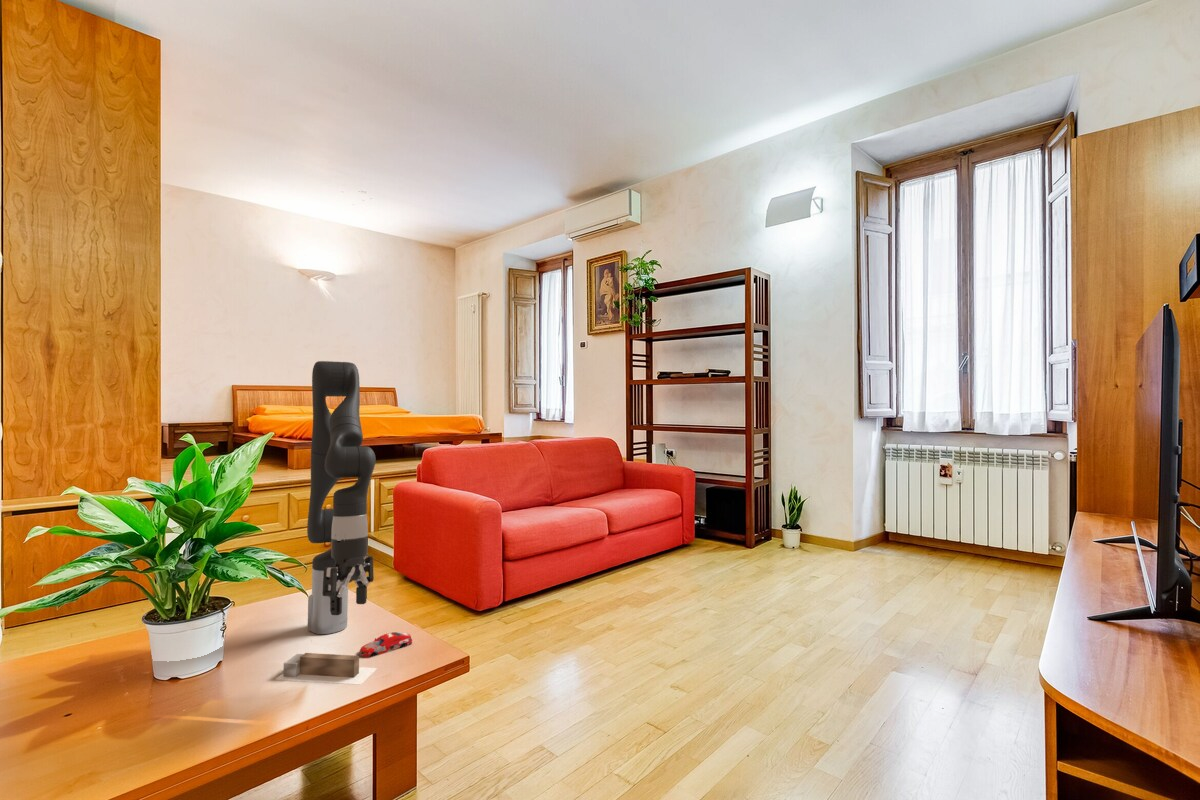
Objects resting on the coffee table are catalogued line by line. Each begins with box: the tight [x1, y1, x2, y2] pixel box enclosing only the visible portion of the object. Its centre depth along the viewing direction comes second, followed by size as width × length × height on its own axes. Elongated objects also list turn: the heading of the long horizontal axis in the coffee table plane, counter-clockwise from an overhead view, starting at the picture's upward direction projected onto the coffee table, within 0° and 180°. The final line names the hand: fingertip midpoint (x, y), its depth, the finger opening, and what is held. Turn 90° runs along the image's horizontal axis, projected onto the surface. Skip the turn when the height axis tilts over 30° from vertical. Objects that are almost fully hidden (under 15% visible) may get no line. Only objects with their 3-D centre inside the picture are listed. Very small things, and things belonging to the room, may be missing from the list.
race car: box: [358, 631, 413, 659], centre depth 147 cm, size 13×5×4 cm, turn 134°
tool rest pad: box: [274, 666, 378, 686], centre depth 133 cm, size 20×8×1 cm, turn 85°
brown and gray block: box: [282, 652, 360, 678], centre depth 133 cm, size 16×5×4 cm, turn 85°
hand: (349, 609), depth 128 cm, fingers open, 8 cm apart
